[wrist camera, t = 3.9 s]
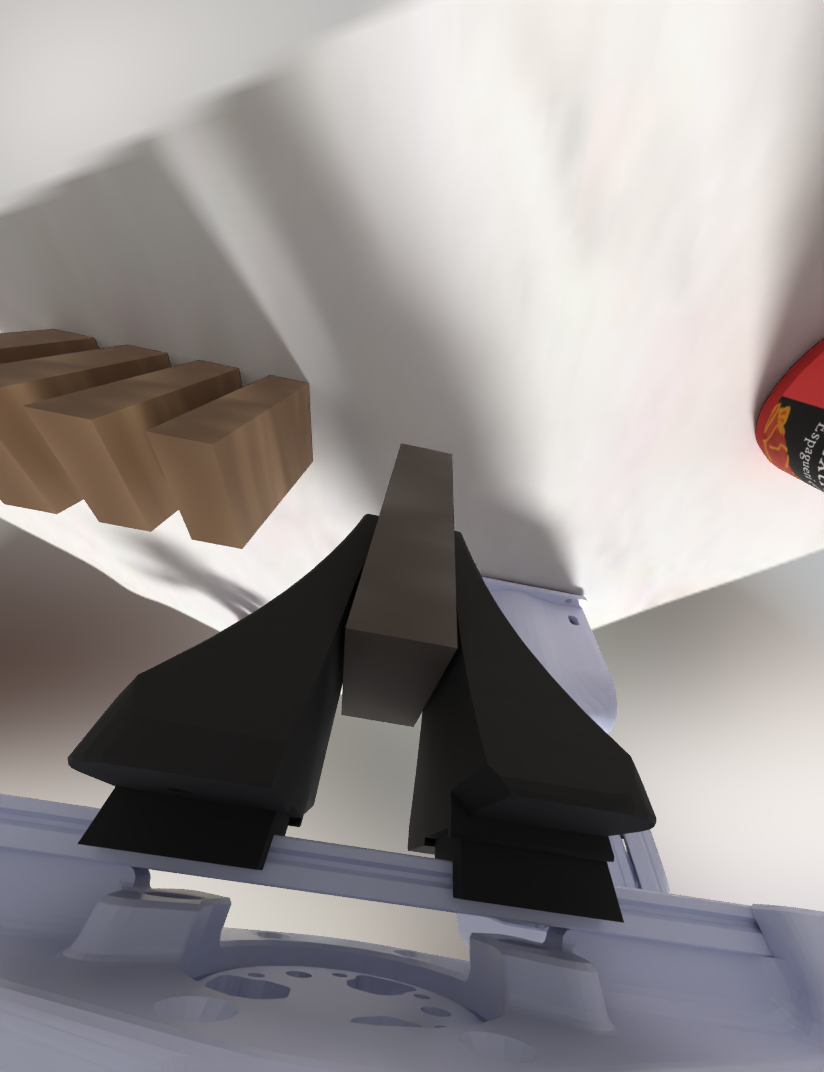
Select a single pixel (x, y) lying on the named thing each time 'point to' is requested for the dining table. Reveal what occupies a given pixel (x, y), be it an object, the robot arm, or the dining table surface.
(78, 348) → the domino
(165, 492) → the domino
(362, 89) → the dining table surface
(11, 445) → the domino
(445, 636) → the domino
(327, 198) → the dining table surface
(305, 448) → the domino
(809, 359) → the canned food
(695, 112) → the dining table surface
